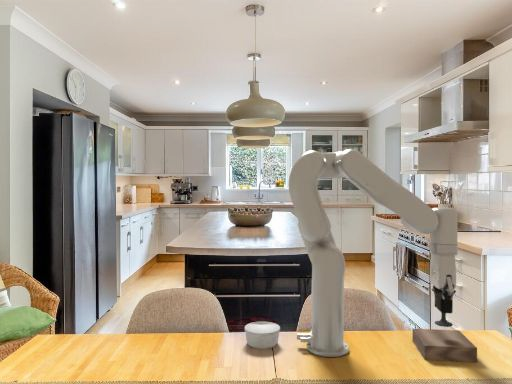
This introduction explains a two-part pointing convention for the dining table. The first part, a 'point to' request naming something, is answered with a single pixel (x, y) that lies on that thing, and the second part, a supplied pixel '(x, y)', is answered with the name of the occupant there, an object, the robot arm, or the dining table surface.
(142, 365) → the dining table surface
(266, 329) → the ramekin
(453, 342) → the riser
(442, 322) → the sundae
